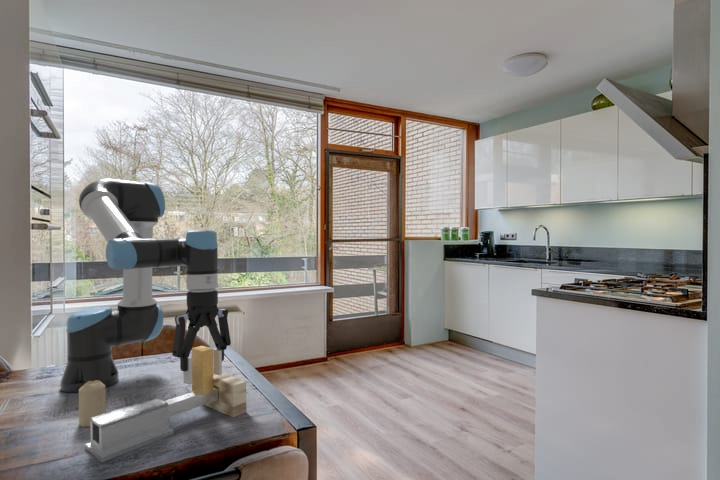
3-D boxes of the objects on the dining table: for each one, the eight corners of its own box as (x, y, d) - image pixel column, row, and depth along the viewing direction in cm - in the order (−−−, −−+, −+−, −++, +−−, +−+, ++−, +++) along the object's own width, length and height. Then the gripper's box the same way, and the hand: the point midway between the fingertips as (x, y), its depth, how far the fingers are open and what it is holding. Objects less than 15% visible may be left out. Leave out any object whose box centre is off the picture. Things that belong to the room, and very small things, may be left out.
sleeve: (85, 448, 88) (84, 416, 88) (155, 423, 100) (155, 395, 100) (102, 462, 82) (101, 428, 82) (174, 434, 94) (173, 404, 94)
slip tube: (133, 422, 94) (132, 361, 94) (219, 392, 112) (219, 341, 112) (143, 428, 91) (142, 365, 91) (230, 396, 109) (229, 344, 109)
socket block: (198, 402, 113) (198, 373, 113) (211, 397, 116) (211, 369, 116) (233, 417, 103) (232, 385, 103) (246, 412, 106) (246, 381, 106)
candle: (85, 429, 97) (85, 387, 97) (74, 423, 100) (74, 383, 100) (110, 420, 102) (109, 380, 102) (98, 415, 105) (98, 376, 105)
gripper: (170, 295, 95) (171, 394, 95) (244, 287, 111) (245, 370, 111) (155, 293, 99) (156, 387, 99) (228, 285, 115) (229, 365, 115)
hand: (203, 378), depth 105 cm, fingers open, 8 cm apart
